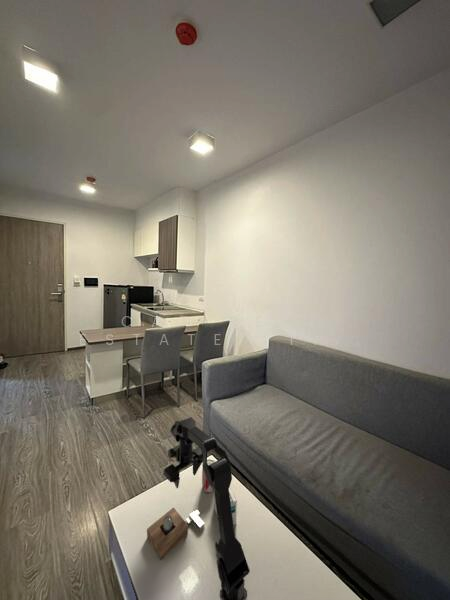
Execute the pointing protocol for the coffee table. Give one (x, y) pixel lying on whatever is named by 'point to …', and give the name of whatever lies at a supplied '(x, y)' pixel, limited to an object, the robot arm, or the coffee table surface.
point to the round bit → (167, 525)
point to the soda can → (204, 479)
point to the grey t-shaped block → (195, 520)
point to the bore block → (169, 541)
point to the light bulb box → (233, 505)
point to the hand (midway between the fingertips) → (185, 480)
